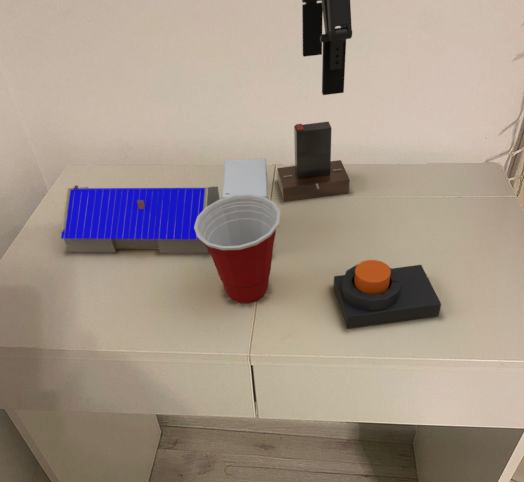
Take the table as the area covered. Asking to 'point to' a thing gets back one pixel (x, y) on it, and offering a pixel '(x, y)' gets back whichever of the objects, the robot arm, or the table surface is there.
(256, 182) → the cosmetics box
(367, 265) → the switch button
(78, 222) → the roof
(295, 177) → the dial panel
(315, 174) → the dark grey block
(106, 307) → the table surface
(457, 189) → the table surface
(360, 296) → the switch button base
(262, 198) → the plastic cup
